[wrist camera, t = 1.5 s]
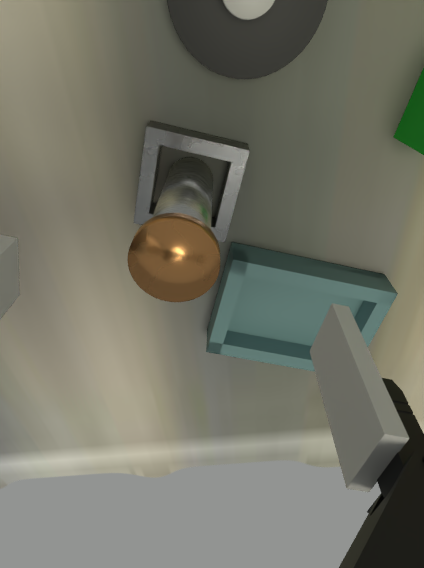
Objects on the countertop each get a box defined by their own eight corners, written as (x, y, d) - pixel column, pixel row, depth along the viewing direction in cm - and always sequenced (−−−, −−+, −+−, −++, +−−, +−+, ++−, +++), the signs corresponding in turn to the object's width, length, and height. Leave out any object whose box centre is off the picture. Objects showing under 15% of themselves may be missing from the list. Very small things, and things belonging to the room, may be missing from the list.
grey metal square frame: (138, 212, 32) (133, 222, 30) (150, 120, 28) (146, 126, 26) (224, 231, 32) (224, 242, 31) (247, 143, 29) (249, 150, 27)
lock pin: (157, 200, 31) (123, 292, 20) (166, 143, 29) (133, 211, 18) (212, 213, 32) (209, 309, 21) (225, 157, 29) (230, 232, 18)
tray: (207, 330, 38) (206, 351, 35) (231, 242, 33) (232, 259, 30) (341, 355, 39) (350, 377, 37) (384, 274, 34) (397, 293, 32)
